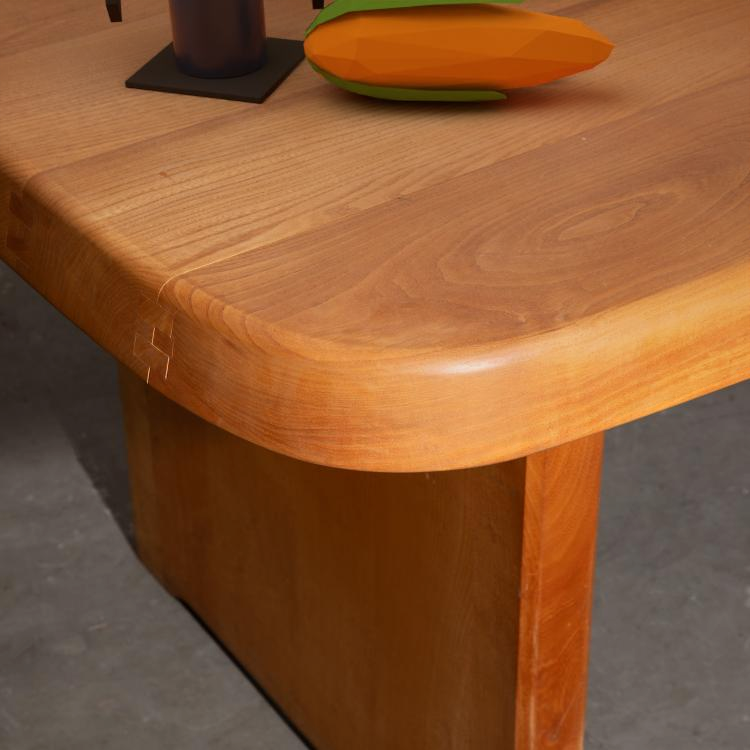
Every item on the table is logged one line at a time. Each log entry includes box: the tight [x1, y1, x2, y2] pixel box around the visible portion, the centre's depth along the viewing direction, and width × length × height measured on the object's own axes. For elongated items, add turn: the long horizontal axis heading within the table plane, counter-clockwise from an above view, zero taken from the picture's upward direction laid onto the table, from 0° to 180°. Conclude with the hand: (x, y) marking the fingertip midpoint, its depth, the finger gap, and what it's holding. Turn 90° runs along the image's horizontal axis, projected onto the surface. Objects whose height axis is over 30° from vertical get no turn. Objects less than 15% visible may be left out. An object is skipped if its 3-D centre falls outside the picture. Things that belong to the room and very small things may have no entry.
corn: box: [303, 0, 615, 102], centre depth 94 cm, size 7×8×20 cm
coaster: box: [124, 36, 306, 104], centre depth 101 cm, size 10×10×1 cm
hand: (216, 7), depth 96 cm, fingers open, 13 cm apart
